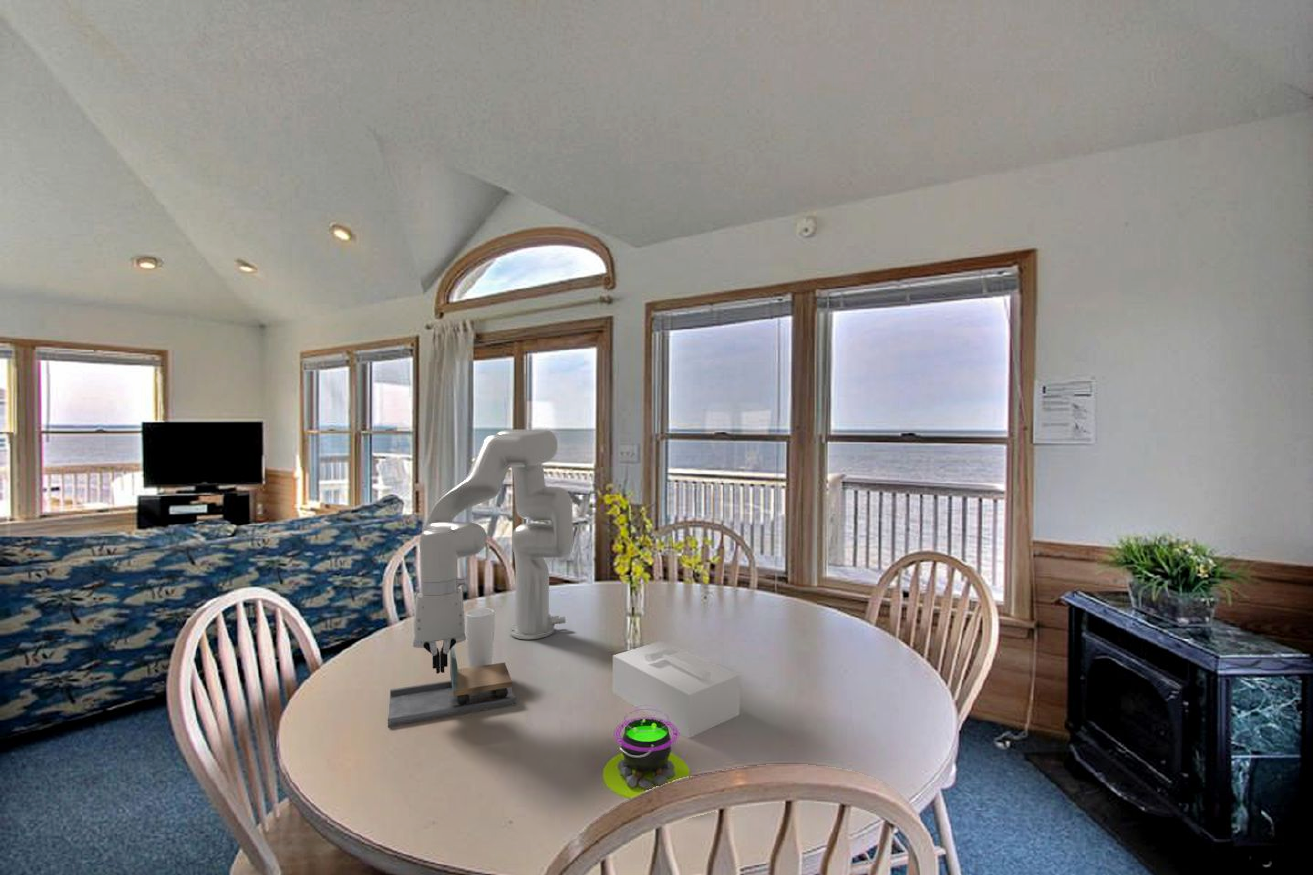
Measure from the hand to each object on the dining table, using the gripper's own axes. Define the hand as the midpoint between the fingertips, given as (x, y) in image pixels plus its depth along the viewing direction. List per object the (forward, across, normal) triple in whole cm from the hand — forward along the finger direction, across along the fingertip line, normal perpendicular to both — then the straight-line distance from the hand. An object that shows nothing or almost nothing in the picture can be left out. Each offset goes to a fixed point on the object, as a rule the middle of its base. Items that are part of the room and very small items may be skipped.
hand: (440, 670), depth 126 cm
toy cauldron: (+7, -32, +41) cm, 52 cm away
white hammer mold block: (+8, -47, +19) cm, 51 cm away
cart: (+7, -8, 0) cm, 11 cm away
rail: (+7, -2, 0) cm, 7 cm away
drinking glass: (+7, -10, -12) cm, 17 cm away
